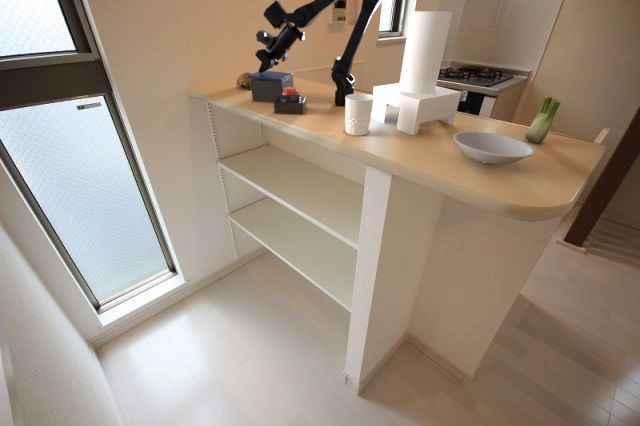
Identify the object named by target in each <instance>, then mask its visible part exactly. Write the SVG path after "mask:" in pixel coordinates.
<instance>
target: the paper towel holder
mask: <svg viewBox="0 0 640 426" xmlns="http://www.w3.org/2000/svg"><path fill="white" fill-rule="evenodd" d="M452 16H453V11H435V10H434V11H433V10H428V11H427V10H411V11H410V13H409V19H408V26H407V32H406V38H405V45H404V51H403V57H402V64H401V71H400V77H399V82H397V83H390V84H384V85H376V86H373V89H372V97H373V98H374V99H373V106H372V112H371V118H370V120H373V121H376V122H377V123H378V122H379V123H381V124H385V117H386V111H387V107H388V106H392V107H394V108H398V109H399V110H398V115H397V116H398V117H397V123H396V130H398V131H400V132H403V133H406V134H407V135H411V136H416V135H418V132H419V128H420V124H425V123H427V122H432V121H436V120H437V121H440V122H444V123H446V124H449V125H448V126H453V125H454V122H455V118H456V115H457V111H458V108H459V104H460V100H461V96H462V91H459V90H456V89H451V88H446V87H443V86H438V79H439V75H440V71H441V67H442V66H441V65H442V61H443V56H444V53H445V49H446V43H447V39H448V34H449V29H450V25H451V21H452Z"/></svg>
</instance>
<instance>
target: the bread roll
mask: <svg viewBox="0 0 640 426" xmlns="http://www.w3.org/2000/svg"><path fill="white" fill-rule="evenodd" d="M251 74H253V72H249V71H246V72H243V73H241V74H240V75H239V76H238V77H237V79H236V87H237V88H238V89H239V90H251V82H250V80H251V79H253V78H248V76H249V75H251Z"/></svg>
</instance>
